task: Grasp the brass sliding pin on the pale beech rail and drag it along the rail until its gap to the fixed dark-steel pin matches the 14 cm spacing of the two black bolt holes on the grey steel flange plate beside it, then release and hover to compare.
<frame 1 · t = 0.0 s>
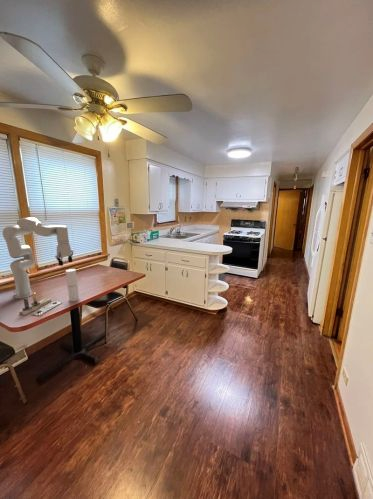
hand: (65, 263, 162), 31 cm above the table, fingers open, 9 cm apart
slide pin: (35, 298, 156), point 7 cm above the table, slide at 0.0 cm
cylindrical container: (74, 299, 172), on the table
flange plate: (47, 308, 156), on the table
divider rail: (36, 307, 158), on the table
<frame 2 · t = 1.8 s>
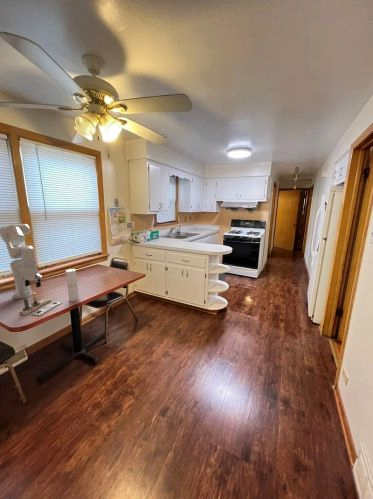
hand: (33, 286, 154), 17 cm above the table, fingers open, 9 cm apart
nothing on the table moved.
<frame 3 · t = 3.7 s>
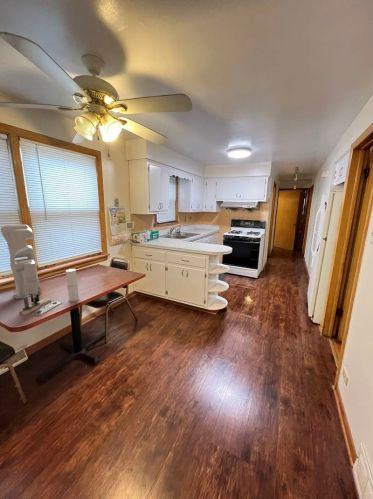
hand: (35, 301, 157), 5 cm above the table, fingers closed on slide pin, 2 cm apart
slide pin: (35, 298, 156), point 7 cm above the table, slide at 0.0 cm, touching gripper
everything else where it was.
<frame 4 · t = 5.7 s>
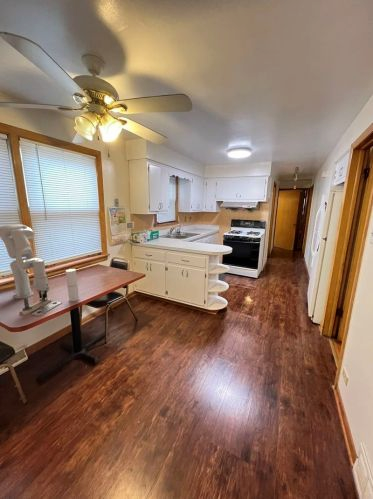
hand: (43, 297, 163), 5 cm above the table, fingers closed on slide pin, 2 cm apart
slide pin: (43, 294, 163), point 7 cm above the table, slide at 7.0 cm, touching gripper
everything else where it was.
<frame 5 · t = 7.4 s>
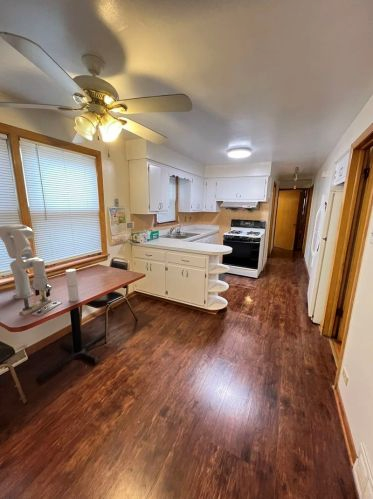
hand: (43, 295, 163), 6 cm above the table, fingers open, 9 cm apart
slide pin: (43, 294, 163), point 7 cm above the table, slide at 7.0 cm
everything else where it was.
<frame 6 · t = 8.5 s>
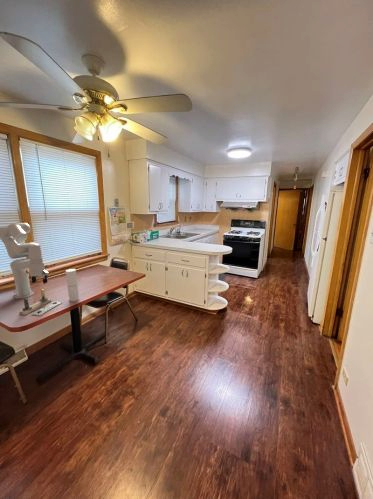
hand: (39, 282, 156), 19 cm above the table, fingers open, 9 cm apart
nothing on the table moved.
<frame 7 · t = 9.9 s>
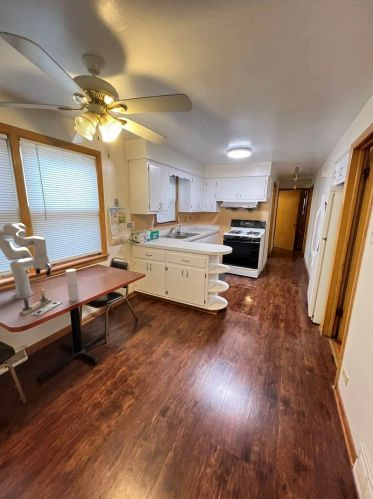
hand: (43, 274, 163), 22 cm above the table, fingers open, 9 cm apart
nothing on the table moved.
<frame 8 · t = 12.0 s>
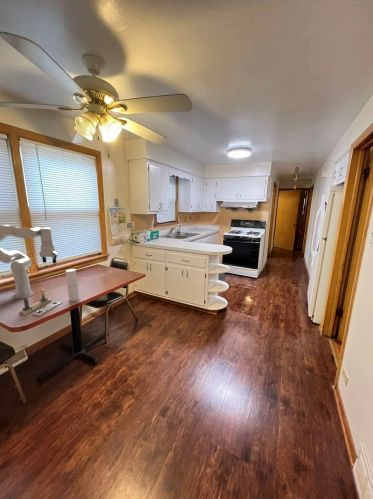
hand: (49, 262, 175), 28 cm above the table, fingers open, 9 cm apart
nothing on the table moved.
at the end: slide pin slide at 7.0 cm; the gripper is holding nothing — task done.
